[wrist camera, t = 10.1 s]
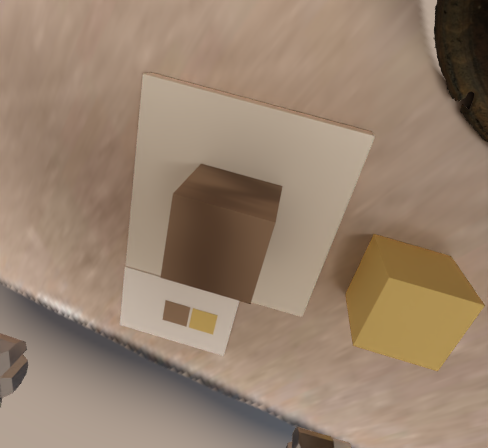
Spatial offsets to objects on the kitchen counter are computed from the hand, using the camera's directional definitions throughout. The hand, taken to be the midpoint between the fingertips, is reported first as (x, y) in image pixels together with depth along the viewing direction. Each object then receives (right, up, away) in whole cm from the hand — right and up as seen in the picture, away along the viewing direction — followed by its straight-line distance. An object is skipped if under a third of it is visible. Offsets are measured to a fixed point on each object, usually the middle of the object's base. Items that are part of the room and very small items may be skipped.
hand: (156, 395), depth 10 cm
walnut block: (+2, +6, +12) cm, 13 cm away
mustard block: (+13, +2, +14) cm, 19 cm away
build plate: (+2, +6, +13) cm, 15 cm away
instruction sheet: (-3, -2, +18) cm, 18 cm away
